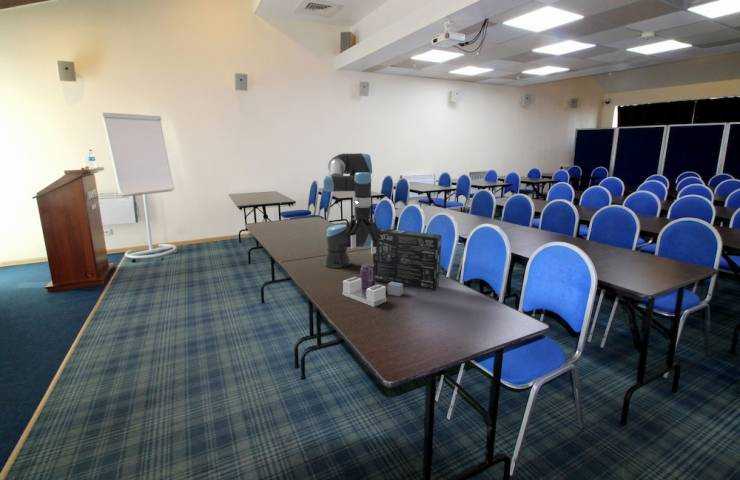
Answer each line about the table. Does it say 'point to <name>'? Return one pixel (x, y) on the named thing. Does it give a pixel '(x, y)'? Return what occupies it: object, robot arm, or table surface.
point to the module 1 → (352, 284)
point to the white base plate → (363, 297)
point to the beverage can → (367, 275)
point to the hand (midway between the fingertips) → (363, 250)
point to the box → (408, 258)
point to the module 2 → (375, 293)
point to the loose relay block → (395, 288)
